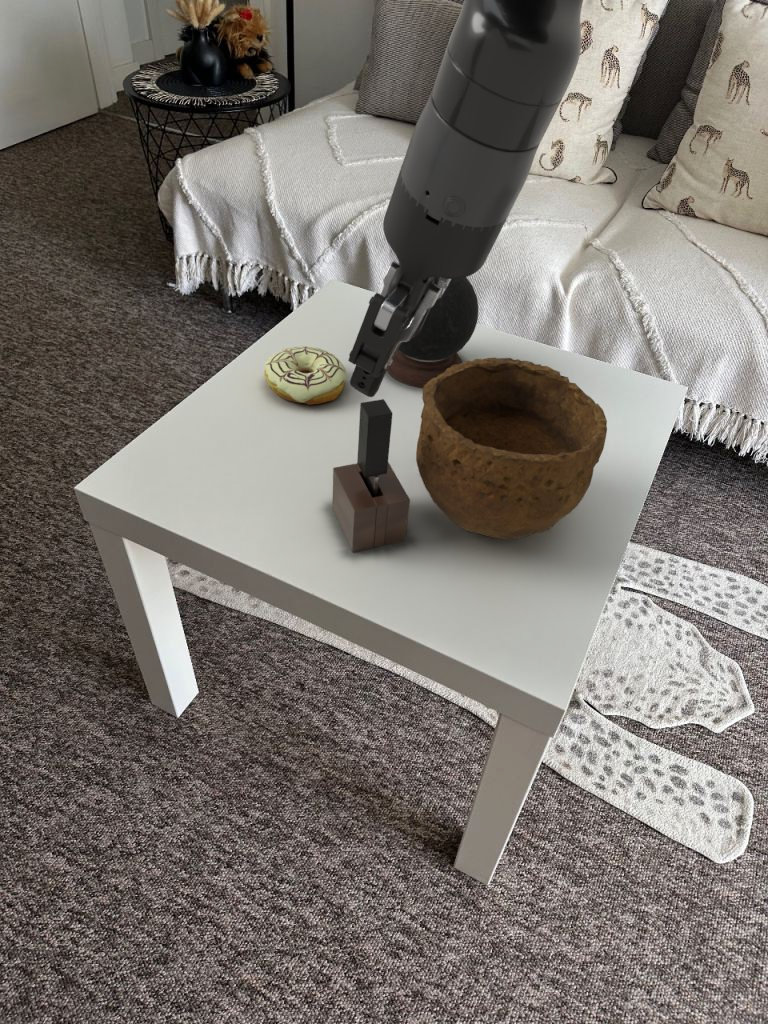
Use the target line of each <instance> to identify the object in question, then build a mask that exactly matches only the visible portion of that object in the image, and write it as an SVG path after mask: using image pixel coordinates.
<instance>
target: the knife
mask: <svg viewBox="0 0 768 1024" xmlns="http://www.w3.org/2000/svg"><path fill="white" fill-rule="evenodd" d="M392 423H393V411H392V409H391V408H390V407H389V405H388V404H387V402H386V400H385V399H384V398H382V399H376V400H370V401H363V402H360V406H359V422H358V424H359V425H358V440H357V441H358V443H357V461H356V463H357V464H358V466H359V467H360V469H361V471H362V473H363V475H364V483H365V485H366V487H367V489H368V491H369V493H370V495H371V497H372V498H374V497H377V493H378V481H379V477H378V475H382V474H387V467H388V462H389V457H390V456H389V454H390V447H391V446H390V444H391V435H392V433H391V432H392Z"/></svg>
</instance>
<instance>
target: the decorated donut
mask: <svg viewBox="0 0 768 1024" xmlns="http://www.w3.org/2000/svg"><path fill="white" fill-rule="evenodd" d="M265 361H266V362H265V365H264V372H263V373H264V377H265V379H266V381H267V384H268V387H270V389H271V390H272V391H273V393H275V394H276V395H277V396H278V397H280V398H282V399H283V400H287V401H289V402H293V403H295V402H296V403H300V404H305V405H308V406H312V405H320V404H324V403H326V402H332V401H334V400H336V399H338V397H339V395H340V394H341V393H342V391H343V390H344V388H345V382H346V381H347V380H348V375H347V371H346V368H345V366H344V364H343V363H342V361H341V360H340V359H339V358H338V357H337V356H336V355H335V354H333V353H332V352H329V351H327V350H324V349H321V348H319V347H313V346H293V347H289V348H288V347H287V348H285V349H282V350H280V351H278V352H277V353H275V354H273V355H271V356H270V357H269V358H267V359H266V360H265Z"/></svg>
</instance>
